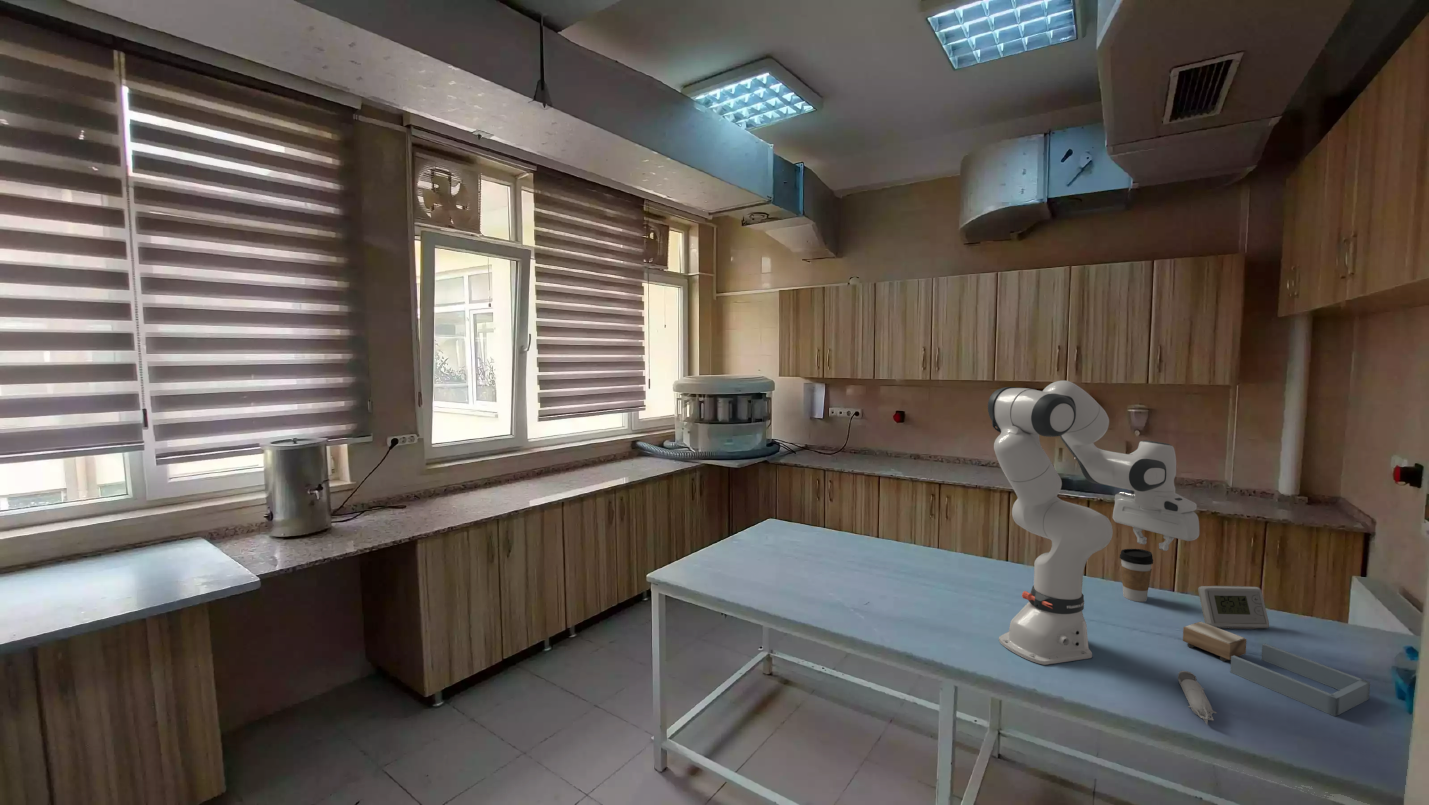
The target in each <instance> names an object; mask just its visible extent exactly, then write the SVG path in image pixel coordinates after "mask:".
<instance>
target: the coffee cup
mask: <svg viewBox="0 0 1429 805" xmlns="http://www.w3.org/2000/svg"><path fill="white" fill-rule="evenodd" d="M1119 559H1120V560H1121V561H1120V562H1121V563H1120V570H1121V582H1122V584H1121V585H1122V593H1123V594H1122V596H1123V597H1124V598H1125V599H1127V600H1130V601H1133V602H1138V603H1143V602H1147V599H1148V594H1149V588H1150V580H1151V575H1152V565H1153V564H1154V558H1153V553H1152V551H1148V550H1147V549H1142V548H1123V549H1122V550H1121V552H1120V554H1119Z"/></svg>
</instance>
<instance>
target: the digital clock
mask: <svg viewBox="0 0 1429 805" xmlns="http://www.w3.org/2000/svg"><path fill="white" fill-rule="evenodd" d="M1197 590H1198V591H1197V592H1198V596H1199V602H1200V605H1201V610H1202V614H1203V615H1202V616H1203V619H1204V620H1203V621H1204V623H1206V624H1209V625H1211V626H1214V627H1217V628H1219V629H1241V630H1243V629H1244V630H1256V629H1268V628H1269V627H1270V622H1269V616H1268V612H1267V609H1266V605H1265V601H1264V596H1263V593H1262V589H1261V588H1260V587H1259V586H1244V585H1209V586H1208V585H1205V586H1204V585H1201V586H1199V587H1198V588H1197Z"/></svg>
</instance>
